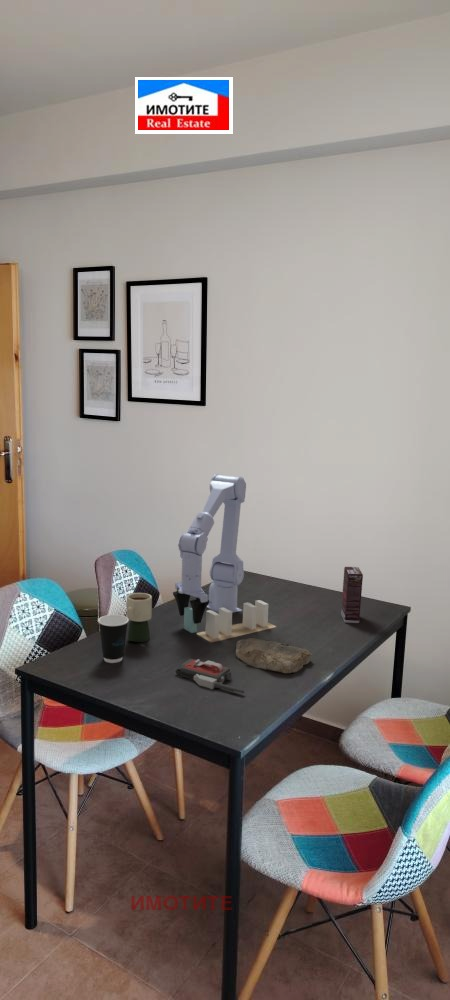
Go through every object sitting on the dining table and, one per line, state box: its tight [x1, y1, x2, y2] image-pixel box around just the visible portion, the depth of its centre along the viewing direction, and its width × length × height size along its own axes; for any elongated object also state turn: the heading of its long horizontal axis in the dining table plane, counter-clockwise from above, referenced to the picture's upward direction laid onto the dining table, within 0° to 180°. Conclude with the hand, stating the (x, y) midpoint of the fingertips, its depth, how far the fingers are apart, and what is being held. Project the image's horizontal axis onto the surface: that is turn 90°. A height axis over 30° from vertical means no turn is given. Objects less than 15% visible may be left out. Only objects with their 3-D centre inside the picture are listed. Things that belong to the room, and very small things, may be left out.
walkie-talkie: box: [175, 658, 245, 694], centre depth 174 cm, size 9×4×20 cm
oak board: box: [195, 622, 277, 643], centre depth 207 cm, size 8×24×1 cm, turn 126°
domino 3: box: [242, 601, 257, 630], centre depth 209 cm, size 2×4×7 cm, turn 36°
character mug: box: [125, 592, 153, 643], centre depth 197 cm, size 11×7×13 cm, turn 154°
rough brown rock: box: [235, 637, 313, 674], centre depth 188 cm, size 14×5×20 cm
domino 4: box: [254, 599, 270, 627], centre depth 212 cm, size 2×4×7 cm, turn 36°
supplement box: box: [340, 566, 364, 624], centre depth 221 cm, size 9×5×16 cm, turn 179°
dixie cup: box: [97, 614, 130, 664], centre depth 184 cm, size 8×8×11 cm
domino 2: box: [218, 607, 233, 636], centre depth 204 cm, size 2×4×7 cm, turn 36°
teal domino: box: [183, 606, 198, 634], centre depth 205 cm, size 2×4×7 cm, turn 36°
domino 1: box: [205, 609, 220, 639], centre depth 202 cm, size 2×4×7 cm, turn 36°
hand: (190, 618), depth 205 cm, fingers open, 7 cm apart
